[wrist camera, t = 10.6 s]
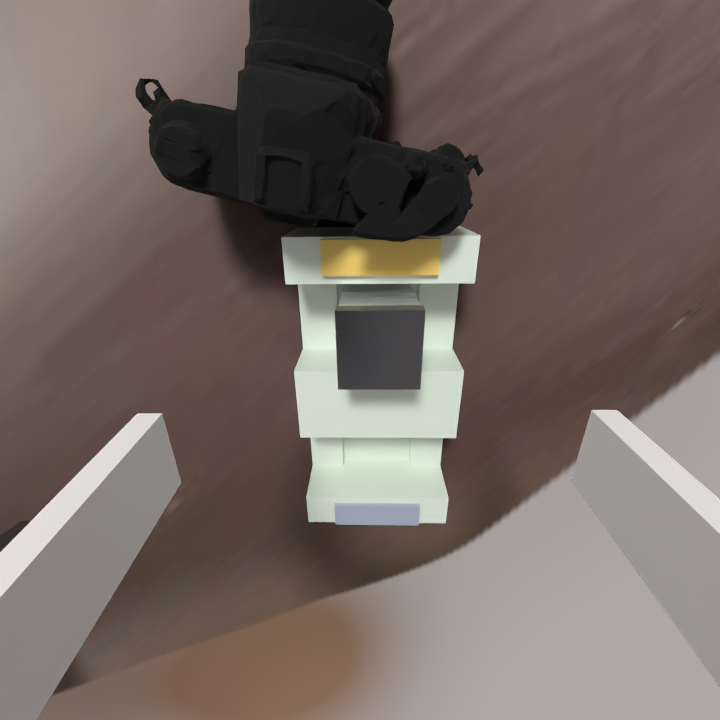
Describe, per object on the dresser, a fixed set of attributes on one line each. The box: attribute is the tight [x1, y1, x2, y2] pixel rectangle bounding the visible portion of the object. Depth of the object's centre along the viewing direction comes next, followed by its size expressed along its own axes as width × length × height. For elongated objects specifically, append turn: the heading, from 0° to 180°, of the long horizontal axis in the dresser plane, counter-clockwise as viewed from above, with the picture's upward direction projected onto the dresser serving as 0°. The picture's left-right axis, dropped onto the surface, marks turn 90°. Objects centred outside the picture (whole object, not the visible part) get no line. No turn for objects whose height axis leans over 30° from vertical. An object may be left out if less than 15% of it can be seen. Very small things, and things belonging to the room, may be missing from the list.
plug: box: [335, 284, 426, 390], centre depth 21 cm, size 4×4×7 cm
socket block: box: [281, 226, 481, 525], centre depth 25 cm, size 10×20×5 cm, turn 1°
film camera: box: [136, 0, 483, 242], centre depth 17 cm, size 15×10×9 cm, turn 79°
